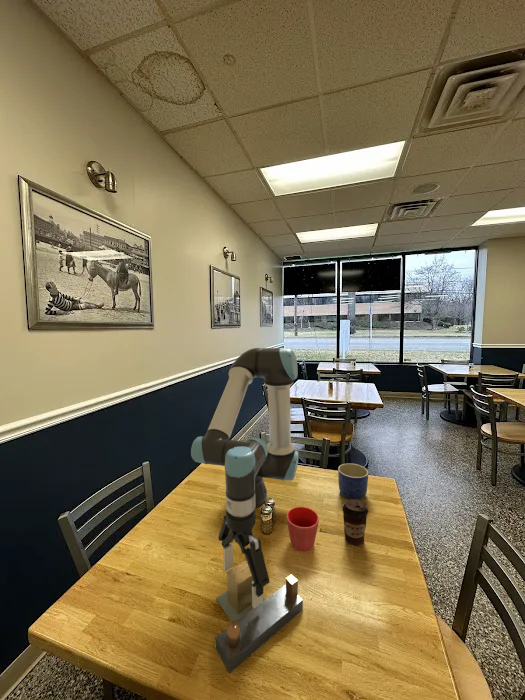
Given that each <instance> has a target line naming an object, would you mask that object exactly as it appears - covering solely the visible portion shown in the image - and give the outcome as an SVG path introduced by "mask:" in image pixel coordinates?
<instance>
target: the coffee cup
mask: <svg viewBox="0 0 525 700" xmlns="http://www.w3.org/2000/svg"><path fill="white" fill-rule="evenodd" d="M342 513H343V514H342V515H343V516H342V517H343V526H344V527H343V528H344V529H343V531H344V540H345V542H346V543H347V545H349V546H351V547H357V548H360V547H362V546H363V545H365V532H366V527H367V517H368V514H369V508H368V507H367V504H366V503H365V502H364V501H362V500H361V499H359V500H356V499H348V500H346V501H345V502H344V504H343V505H342Z"/></svg>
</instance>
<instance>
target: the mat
mask: <svg viewBox="0 0 525 700" xmlns="http://www.w3.org/2000/svg"><path fill="white" fill-rule="evenodd" d="M215 599H216V601H217V603H218V604H219V606H220V608H221V609H222V610H223V612H224V613H225V616H227V618H228V620H229V622H230V621H233V620H235V621H237V620H239V619H240V618H241V617H243V616H244V615H245V614H247V613H248V612H249V611H251V610H252V609H253V607H252V604H251V605H250V606H249V607H247V608H246V609H245V610H243V611H242V612H241V613H239V614H237V613H236V611H235V610H234V608H233V607H232V606H231V604H230V603H229V601H228V599H227V590H225V591H224V592H223V593H221V594H219V595H217V596H216V597H215ZM265 599H266V598H265V597H264V596H263V601H264V600H265Z"/></svg>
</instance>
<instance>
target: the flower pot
mask: <svg viewBox="0 0 525 700" xmlns="http://www.w3.org/2000/svg"><path fill="white" fill-rule="evenodd" d="M286 521H287V528H288V535H289V540H290V545H291V547H292V548H293V549H294V550H295V551H298V552H300V553H307V552H310V551H311V550H313V549H314V546H315V543H316V542H315V541H316V537H317V533H318V526H319V523H320V522H319V521H320V518H319V515H318V513H317V512H316V511H315V510H313V509H312V508H309V507H306V506H296V507H292V508H291V509H289V510H288V512H287V513H286Z"/></svg>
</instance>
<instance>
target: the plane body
mask: <svg viewBox="0 0 525 700" xmlns="http://www.w3.org/2000/svg"><path fill="white" fill-rule="evenodd" d="M298 583H299V580H298V579H297V578H296V577H295V576H294V575H293V574H290V575H288V576H287V577H285V584H284V585H283V586H281V587H280V588H279V589H278V590H276V591H275V592H274V593H272V594H271V595H269V596H268V597H267V598H265V600H264V601H263V602H262V603H261V604H260V605H259V606H257V607H256V608H255V609H254V608H253V609H252V610H251V611H249V612H248V613H247V614H245V615H244V616H243V617H241V618H240V619H239V620H237V621H235V620H233V621H230V620H229V622H228V623H227V626H226V628H225V629H224V630H223V631H221V632H220V633H219V634H217V635H216V636H215V641H214V642H215V650H216V652H217V654H218V656H219V658H220V660H221V662H222V663H223V665H224V666H225V668H226V669H227V672H228V673H229V675H230V674H231V673H233V671H234V670H236V669H237V668H238V667H240V665H241V664H243V663H244V662H245V661H246V660H247V659H249V658H250V657H251V656H252V655H253V654H254V653H255V652H257V651H259V649H260V648H261V647H262V646H263V645H265V643H267V642H268V641H270V639H272V638H273V637H274V636H275V635H276V634H277V633H278V632H280V631H281V630H282V629H283V628H285V626H286V625H288V624H289V623H290V622H291V621H292V620H293V619H295V618H296V617H297V616H299V614H300V613H302V612H303V611H304V609H303V605H304V603H303V601H304V600H303V598H302V597H300V595H299V590H298V589H299V588H298V587H299V584H298Z"/></svg>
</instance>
